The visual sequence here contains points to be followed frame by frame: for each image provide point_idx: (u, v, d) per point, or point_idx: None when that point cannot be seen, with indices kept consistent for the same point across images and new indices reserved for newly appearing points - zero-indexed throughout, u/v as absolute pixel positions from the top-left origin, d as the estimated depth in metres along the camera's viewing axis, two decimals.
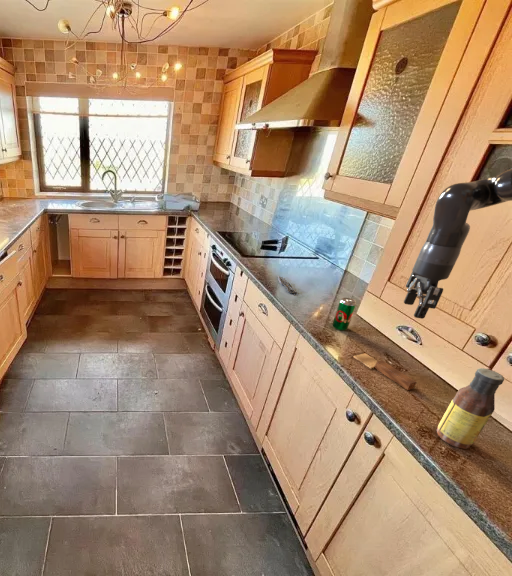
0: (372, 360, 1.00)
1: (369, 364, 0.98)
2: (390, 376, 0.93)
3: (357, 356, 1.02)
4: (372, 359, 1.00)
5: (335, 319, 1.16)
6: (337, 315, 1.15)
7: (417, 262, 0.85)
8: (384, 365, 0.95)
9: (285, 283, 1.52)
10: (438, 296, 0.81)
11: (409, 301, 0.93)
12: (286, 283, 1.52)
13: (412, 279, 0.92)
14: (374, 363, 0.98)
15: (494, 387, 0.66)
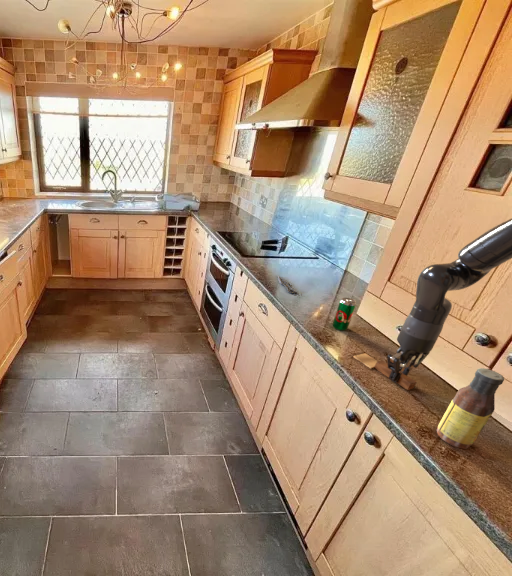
0: (372, 360, 1.00)
1: (369, 364, 0.98)
2: None
3: (357, 356, 1.02)
4: (372, 359, 1.00)
5: (335, 319, 1.16)
6: (337, 315, 1.15)
7: None
8: (384, 365, 0.95)
9: (285, 283, 1.52)
10: (394, 364, 0.87)
11: None
12: (286, 283, 1.52)
13: None
14: (374, 363, 0.98)
15: (494, 387, 0.66)
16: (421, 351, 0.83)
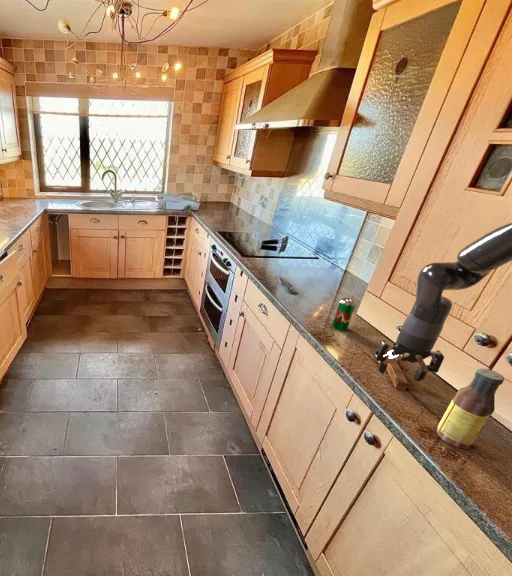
0: None
1: None
2: (390, 374, 0.93)
3: None
4: None
5: (335, 319, 1.16)
6: (337, 315, 1.15)
7: None
8: (392, 364, 0.95)
9: (285, 283, 1.52)
10: (380, 349, 0.90)
11: (416, 376, 0.90)
12: (286, 283, 1.52)
13: (432, 359, 0.87)
14: None
15: (494, 387, 0.66)
16: (409, 347, 0.84)
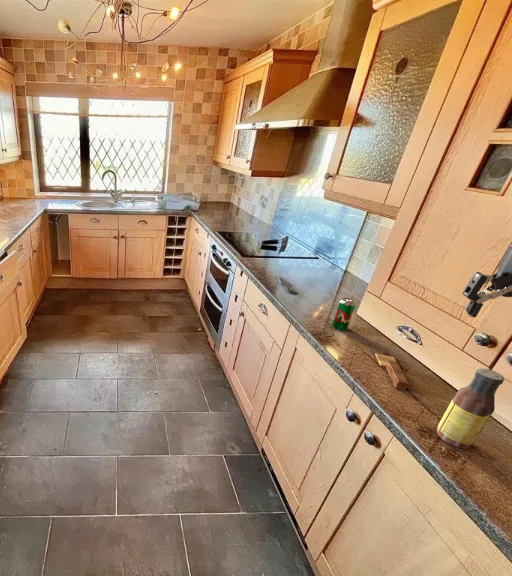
0: None
1: (382, 362, 0.99)
2: (390, 374, 0.93)
3: (379, 355, 1.02)
4: (393, 362, 0.99)
5: (335, 319, 1.16)
6: (337, 315, 1.15)
7: None
8: (392, 364, 0.95)
9: (285, 283, 1.52)
10: (474, 283, 0.69)
11: None
12: (286, 283, 1.52)
13: None
14: None
15: (494, 387, 0.66)
16: None
